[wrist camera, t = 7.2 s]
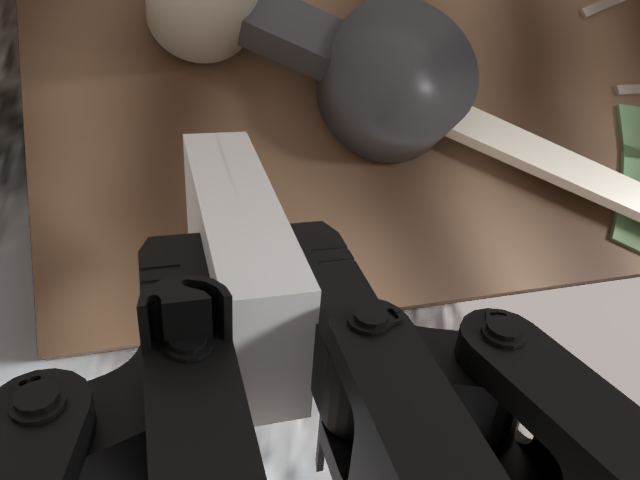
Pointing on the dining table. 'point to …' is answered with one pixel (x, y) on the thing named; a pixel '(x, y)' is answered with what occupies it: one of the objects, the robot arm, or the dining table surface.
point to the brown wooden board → (319, 159)
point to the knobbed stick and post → (383, 81)
